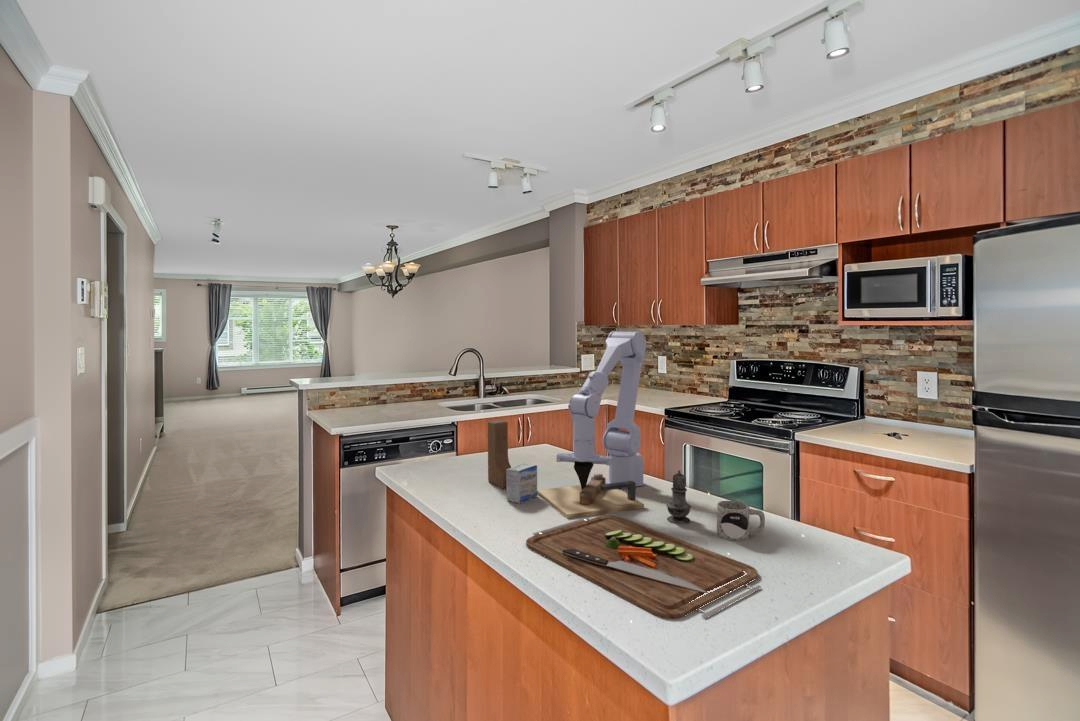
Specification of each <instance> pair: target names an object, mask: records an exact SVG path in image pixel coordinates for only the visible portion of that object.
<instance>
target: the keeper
mask: <svg viewBox="0 0 1080 721" xmlns="http://www.w3.org/2000/svg"><path fill="white" fill-rule="evenodd" d="M636 488H637V486H636V483H635V482H633V481H627V482H618V483H610V484H602V485H600V489H602V490H604V491H606V490H614V489H618V490H621V489H627V495H628V498H627V499H629V500H637V499H636V494H637V493H636Z"/></svg>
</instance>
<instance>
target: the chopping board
mask: <svg viewBox="0 0 1080 721" xmlns="http://www.w3.org/2000/svg"><path fill="white" fill-rule="evenodd" d="M532 535H533V536H530V537H528V538H527V539H526V540H525V546H527V547H526V548H527V549H529V550H530V549H531V550H530V551H532V550H533V551H532V552H534V551H535V552H534V553H536V552H537V553H536V554H538V553H539V554H538V555H540V554H541V555H540V556H541V557H544V556H545V557H544V558H545V559H547V558H548V560H549V559H550V560H549V561H551V560H552V561H551V562H553V561H554V562H553V563H555V562H556V563H555V564H557V563H558V564H557V565H559V566H561V567H563V568H564V569H566V568H567V570H568V571H570V572H572V573H574V574H576V575H578V576H579V577H582V578H583V577H584V579H586V580H587V581H590V582H592V584H595V585H597V586H599V587H601V588H603V589H604V590H607V591H608V590H609V591H608V592H610V593H611V594H613V595H616V596H618V597H620V598H622V599H623V600H625V601H626V602H630V603H631V604H633V605H634V606H637V607H639V608H640V609H643V610H644V611H646V612H648V613H650V614H652V615H654V616H657V617H659V618H661V619H662V618H663V619H667V620H673V619H674V620H675V619H681V618H683V617H684V616H685V615H687V614H689V613H691V612H692V613H694V612H695V611H694V610H696V609H697V610H698V611H700V612H699V613H701V612H702V613H701V616H702V617H704V618H706V619H708V618H709V617H708V616H710V615H712V614H714V613H716V612H717V611H719V610H721V609H722V608H724V607H726V606H728V605H729V604H731V603H733V602H735V601H736V600H739V599H740V598H742V597H744V596H746V595H748V594H750V593H752V592H754V591H756V590H758V589H759V588H761V589H762V586H761V585H760V584H759V585H756V586H755V587H753V586H751V585H749V584H750V583H749V582H750V581H752V580H754V579H756V578H757V577H758V575H759V573H758V570H757V569H756V568H755V567H753V566H751V565H749V564H747V563H743V562H742V561H739V560H736V559H734V558H731V557H728V556H726V555H722V554H720V553H717V552H714V551H712V550H709V549H706V548H704V547H701V546H699V545H696V544H693V543H691V542H689V541H685V540H682V539H680V538H678V537H674V536H672V535H669V534H666V533H664V532H661V531H658V530H655V529H653V528H652V527H651V528H650V527H648V526H645V525H642V524H641V523H640V524H639V523H638V522H637V523H636V522H634V521H631V520H630V519H626V518H623V517H620V516H618V515H612V514H611V515H610V514H609V515H601V516H600V515H599V516H596V517H593V518H589V517H588V516H585V517H583V518H580V519H577V520H572V521H570V522H567V523H562V524H560V525H559V524H558V525H555V526H552V527H548V528H546V529H542V530H539V531H535V532H532ZM743 571H745V572H746V573H747V575H745V576H743V575H744V574H745V573H744V572H743ZM741 576H743V577H741ZM739 577H741V578H739ZM737 578H739V579H737ZM735 579H737V580H735ZM757 579H758V578H757ZM757 579H756V580H757ZM732 580H735V581H733V582H731V583H729V584H727V585H725V586H723V587H721V588H719V589H717V590H715V591H713V592H710V593H708V592H707V591H710V590H713V589H714V588H717V587H719V586H722V585H724V584H726V583H728V582H730V581H732ZM747 583H749V584H747ZM746 584H747V585H746ZM742 585H745V586H747V587H750V588H752V589H748V590H747V591H745V592H743V593H741V594H739V595H737V596H736V597H734V598H731V599H730V600H728V601H726V602H724V603H722V604H720V605H718V606H716V607H714V608H713V609H711V610H709V611H705V610H704V609H702V608H703V607H702V606H703V605H705V604H707V603H709V602H711V601H713V600H715V599H717V598H719V597H721V596H723V595H725V594H726V593H729V592H730V591H733V590H734V589H737V588H738V587H740V586H742ZM704 593H708V594H706V595H704V596H702V597H700V598H698V599H696V598H697V597H699V596H701V595H703V594H704ZM695 599H696V600H695ZM692 600H694V601H692ZM691 601H692V602H691ZM689 602H690V603H689ZM700 607H702V608H700ZM699 608H700V609H699ZM697 610H696V611H697ZM693 611H694V612H693ZM698 611H697V612H698ZM721 611H722V610H721ZM692 613H691V614H692ZM703 613H704V614H703ZM716 614H717V613H716ZM689 615H690V614H689ZM714 615H715V614H714ZM687 616H688V615H687ZM712 616H713V615H712ZM685 617H686V616H685ZM702 617H701V618H702ZM707 617H708V618H707ZM710 617H711V616H710ZM704 618H703V619H704Z"/></svg>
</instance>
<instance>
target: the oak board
mask: <svg viewBox="0 0 1080 721" xmlns="http://www.w3.org/2000/svg"><path fill="white" fill-rule="evenodd" d="M606 484H608V483H606ZM581 491H582V489H581V484H579V485H570V486H569V485H568V486H562V487H561V486H559V487H553V488H544V489H537V494H538V495H537V496H539V498H541V499H542V498H543V499H542V500H544V501H545V502H546V503H547V504H549V505H550V506H551V507H552V508H554V510H556V511H557V512H558V513H560V514H561V515H563V517H564V518H566V519H568V520H569V519H574V518H575V519H576V518H581V517H583V518H584V517H588V516H589V517H590V516H597V515H604V514H609V513H611V512H612V513H617V512H624V511H633V510H637V509H639V508H640V509H644V508H645V503H643V502H642V501H639V500H638V499H636V500H629V499H627V498H628V493H626V492H623V491H621V489H614V490H606V491H604V490H601V491H600V492H599V494H598V495H597V496H596V498H595V499H594V500H593V502H592V503H591V504H588V505H584V504H580V492H581ZM632 509H633V510H632ZM640 509H639V510H640ZM612 513H611V514H612Z"/></svg>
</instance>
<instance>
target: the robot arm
mask: <svg viewBox="0 0 1080 721" xmlns="http://www.w3.org/2000/svg"><path fill="white" fill-rule="evenodd" d="M647 343H648V342H647V339H646V337H645V335H644V333H643V332H642V331H641V330H637V331H616V330H612V331H611V332H610V333H609V334H608V336H607V338H606V340H605V347H606V349H605V350H604V354H603V355H602V358H601V360H600V362H599V363H598V367H597V368H596V370H594V371H591V372H590V373H589V374H588V376H587V378H586V379H585V381H584V383H583V385H582V386H581V388H580V389H579V391H578V393H575V394H574V395H572V396H571V397H570V400H569V402H568V404H567V407H568V412H569V413H570V416H571V417H570V418H571V421H572V428H573V429H572V430H573V431H572V432H573V433H572V449H573V450H572V453H571V452H570V453H569V452H568V453H559V452H558V453H557V454H556V463H561V462H564V463H574V464H573V469H574V471H575V473H576V475H577V477H578V480H579V485H581V489H582V490H583V489H584V488H585V486H586V485H587V484H588V479H589V477H590V474H591V471H592V470H593V467H594V465H606V466H608V479H606V483H608V484H610V483H618V482H627V481H633V482H635V483H636V487H640V486H645V484H646V483H645V482H644V459H643V456H642V455H641V453H639V451H640V448H641V446H642V439H641V431H642V430H641V428H640V427H639V426H638V425H637V424H636V423H635V422H634V420H635V419H634V418H635V412H636V405H637V398H638V393H639V386H640V385H639V384H640V380H641V379H640V378H641V371H642V365H643V362H645V356H646V349H647ZM619 362H620V363H621V365H622V370H621V376H620V377H621V378H620V384H619V388H618V389H619V392H618V397H617V402H616V403H617V404H616V411H615V417H614V419H612V420H611V421H609V422H608V423H607V424H606V428H605V429H606V430H605V432H604V433H603V437H602V444H603V447H604V449H605V450H606V454H608V456H607V455H601V454H596V450H595V449H596V448H595V447H596V441H595V440H596V426H595V425H596V416H597V415H598V413H599V412H600V408H601V402H602V396H603V394H604V393H605V391H606V389H607V387H608V385H609V383H610V381H609V378H608V377H609V375H610V374H611V372H612V371H613V370H614V368H615V366H616V365H617V363H619ZM626 430H627V431H626Z"/></svg>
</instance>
